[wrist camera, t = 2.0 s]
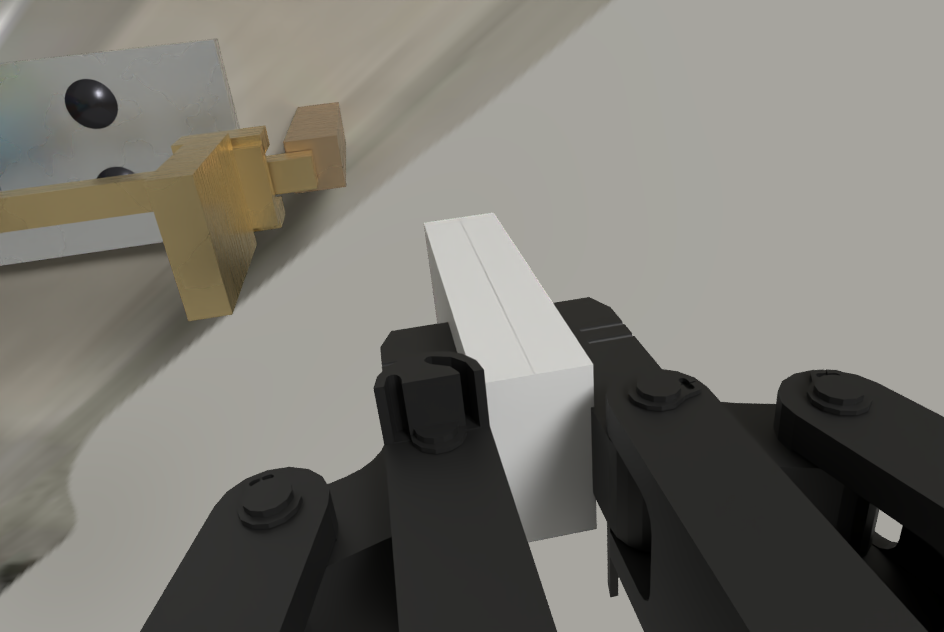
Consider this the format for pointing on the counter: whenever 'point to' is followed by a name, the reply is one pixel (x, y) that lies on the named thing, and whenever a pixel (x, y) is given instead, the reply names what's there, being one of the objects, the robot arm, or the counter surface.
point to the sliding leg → (214, 214)
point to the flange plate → (103, 131)
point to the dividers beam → (298, 170)
